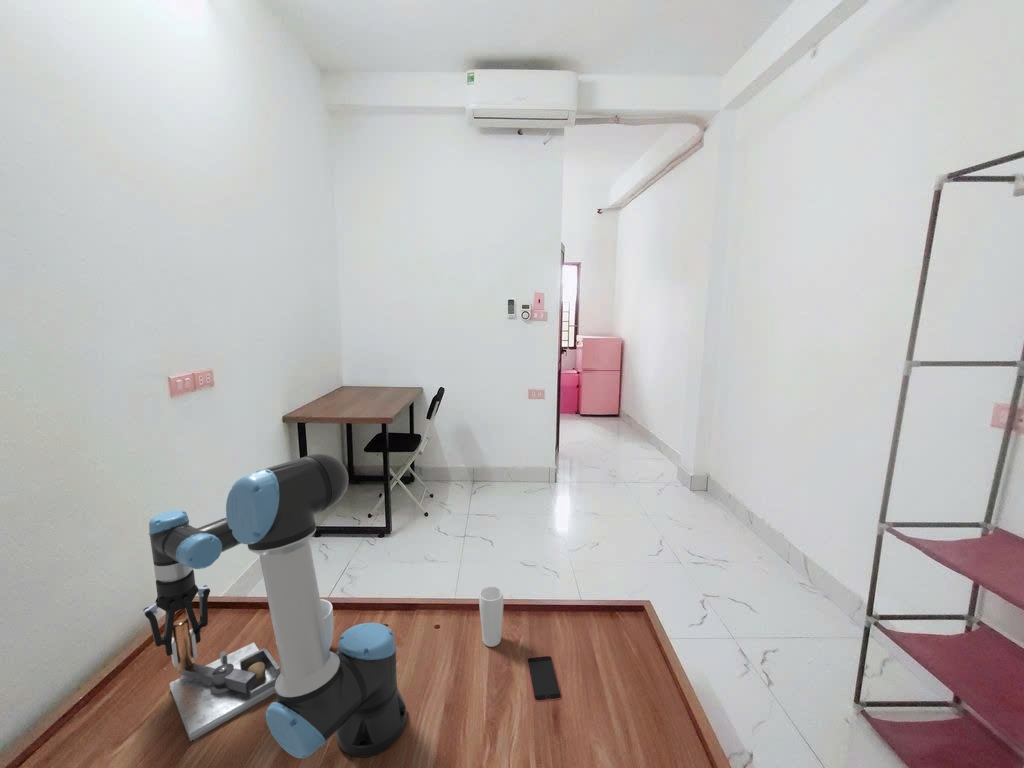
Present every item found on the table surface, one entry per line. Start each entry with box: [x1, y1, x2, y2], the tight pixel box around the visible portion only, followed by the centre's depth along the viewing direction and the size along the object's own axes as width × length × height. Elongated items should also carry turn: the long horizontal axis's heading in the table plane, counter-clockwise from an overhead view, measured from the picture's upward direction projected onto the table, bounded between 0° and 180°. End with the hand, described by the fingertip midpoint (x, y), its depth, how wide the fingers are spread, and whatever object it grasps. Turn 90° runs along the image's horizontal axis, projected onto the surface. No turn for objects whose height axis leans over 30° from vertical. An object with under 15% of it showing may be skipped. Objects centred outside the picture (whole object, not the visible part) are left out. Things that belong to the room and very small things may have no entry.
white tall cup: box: [478, 585, 504, 648], centre depth 127 cm, size 7×7×15 cm
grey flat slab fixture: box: [169, 642, 281, 742], centre depth 111 cm, size 20×19×6 cm
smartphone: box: [526, 655, 563, 703], centre depth 115 cm, size 7×1×14 cm
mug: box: [320, 598, 335, 650], centre depth 120 cm, size 15×11×13 cm
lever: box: [172, 618, 257, 694], centre depth 110 cm, size 22×4×14 cm, turn 75°
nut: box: [248, 662, 266, 684], centre depth 112 cm, size 4×4×3 cm
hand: (184, 659), depth 113 cm, fingers closed on lever, 3 cm apart
